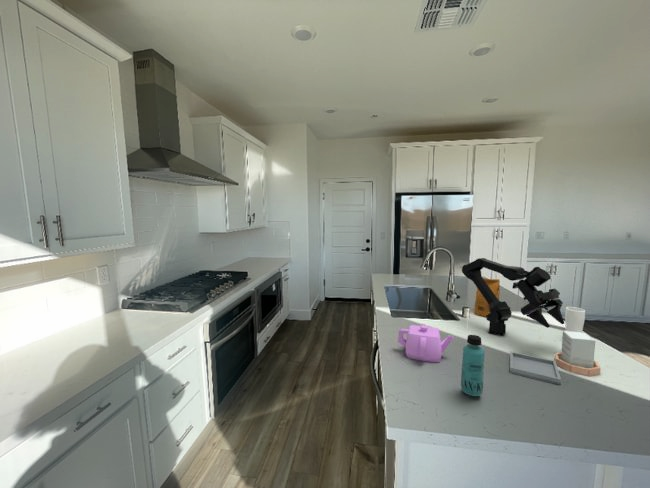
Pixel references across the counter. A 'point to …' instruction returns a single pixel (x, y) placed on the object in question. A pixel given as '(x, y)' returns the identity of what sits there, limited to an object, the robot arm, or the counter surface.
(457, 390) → the counter surface
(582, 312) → the drinking glass
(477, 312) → the coffee package
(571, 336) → the supplement box
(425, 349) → the teakettle
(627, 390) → the counter surface
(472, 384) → the beverage bottle
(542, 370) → the tray
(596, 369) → the segmented octagonal ring
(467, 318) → the counter surface
